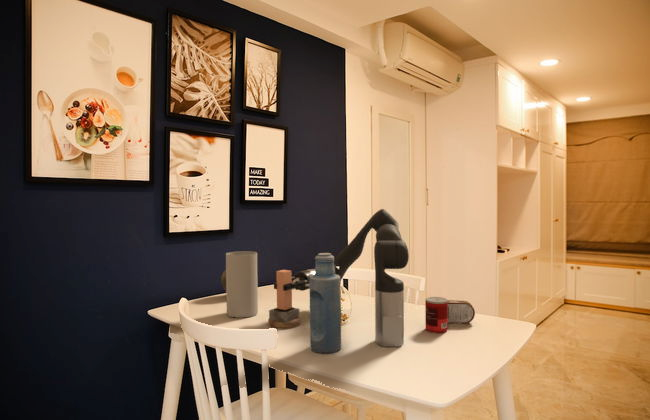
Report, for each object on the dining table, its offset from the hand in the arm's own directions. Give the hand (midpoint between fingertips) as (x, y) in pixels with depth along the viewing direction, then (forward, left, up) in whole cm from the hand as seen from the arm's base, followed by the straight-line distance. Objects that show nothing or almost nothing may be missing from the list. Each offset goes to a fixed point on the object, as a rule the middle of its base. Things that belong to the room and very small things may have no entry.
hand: (279, 287), depth 156 cm
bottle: (-25, -16, -15) cm, 33 cm away
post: (+2, -2, -8) cm, 9 cm away
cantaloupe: (+47, +25, -15) cm, 55 cm away
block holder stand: (+2, -2, -14) cm, 15 cm away
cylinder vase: (+16, +17, -15) cm, 28 cm away
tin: (0, -65, -15) cm, 67 cm away
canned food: (-8, -56, -15) cm, 59 cm away
